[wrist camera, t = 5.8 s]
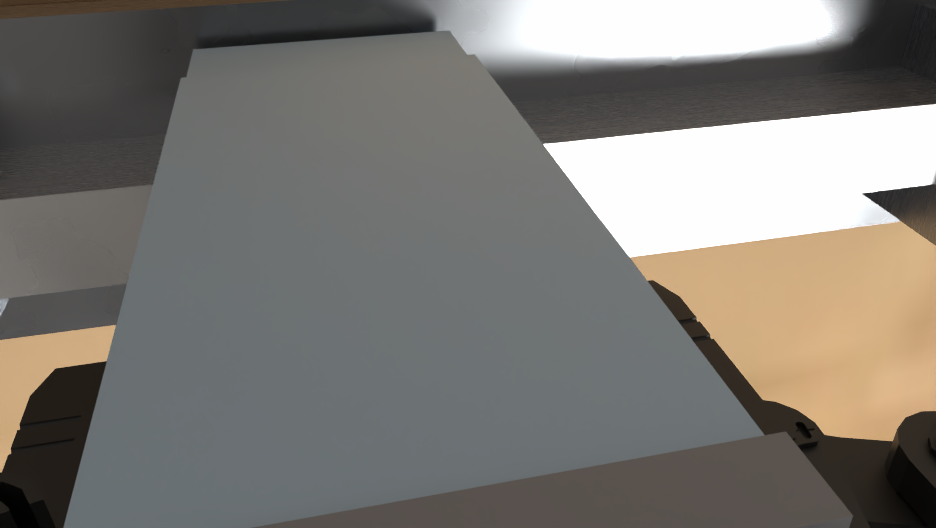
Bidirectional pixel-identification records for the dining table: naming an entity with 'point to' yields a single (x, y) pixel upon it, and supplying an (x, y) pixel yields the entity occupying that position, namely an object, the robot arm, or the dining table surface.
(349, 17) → the rail
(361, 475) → the grey rectangular block
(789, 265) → the dining table surface
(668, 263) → the dining table surface
